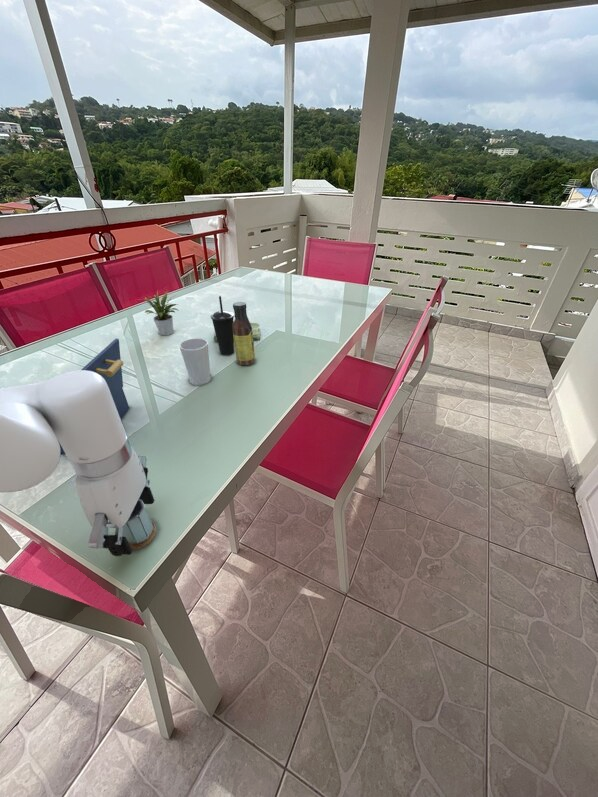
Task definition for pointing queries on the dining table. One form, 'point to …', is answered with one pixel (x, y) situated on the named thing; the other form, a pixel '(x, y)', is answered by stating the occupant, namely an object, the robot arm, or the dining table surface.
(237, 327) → the sauce bottle
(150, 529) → the tumbler
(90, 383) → the robot arm
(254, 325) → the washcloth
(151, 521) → the coaster
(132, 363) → the dining table surface
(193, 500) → the dining table surface
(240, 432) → the dining table surface
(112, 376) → the lid
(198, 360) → the cup
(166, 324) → the house plant
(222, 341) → the drinking cup
